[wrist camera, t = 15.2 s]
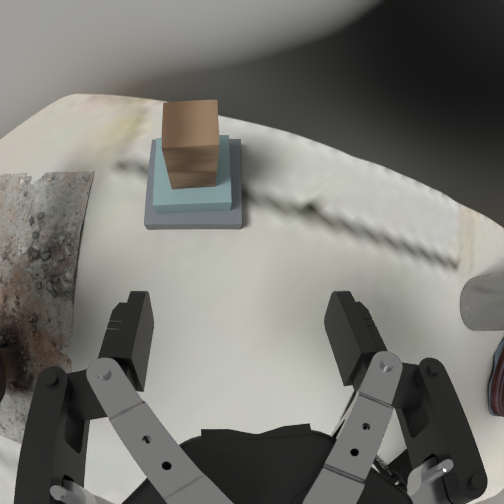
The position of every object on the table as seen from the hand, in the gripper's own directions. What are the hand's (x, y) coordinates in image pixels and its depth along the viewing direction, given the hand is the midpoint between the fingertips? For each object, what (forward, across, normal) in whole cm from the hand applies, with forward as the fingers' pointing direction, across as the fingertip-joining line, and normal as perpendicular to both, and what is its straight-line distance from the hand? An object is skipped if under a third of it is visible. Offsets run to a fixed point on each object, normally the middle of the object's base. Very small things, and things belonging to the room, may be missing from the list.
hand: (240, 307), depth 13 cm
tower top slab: (+28, +4, +5) cm, 29 cm away
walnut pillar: (+26, +4, +3) cm, 26 cm away
